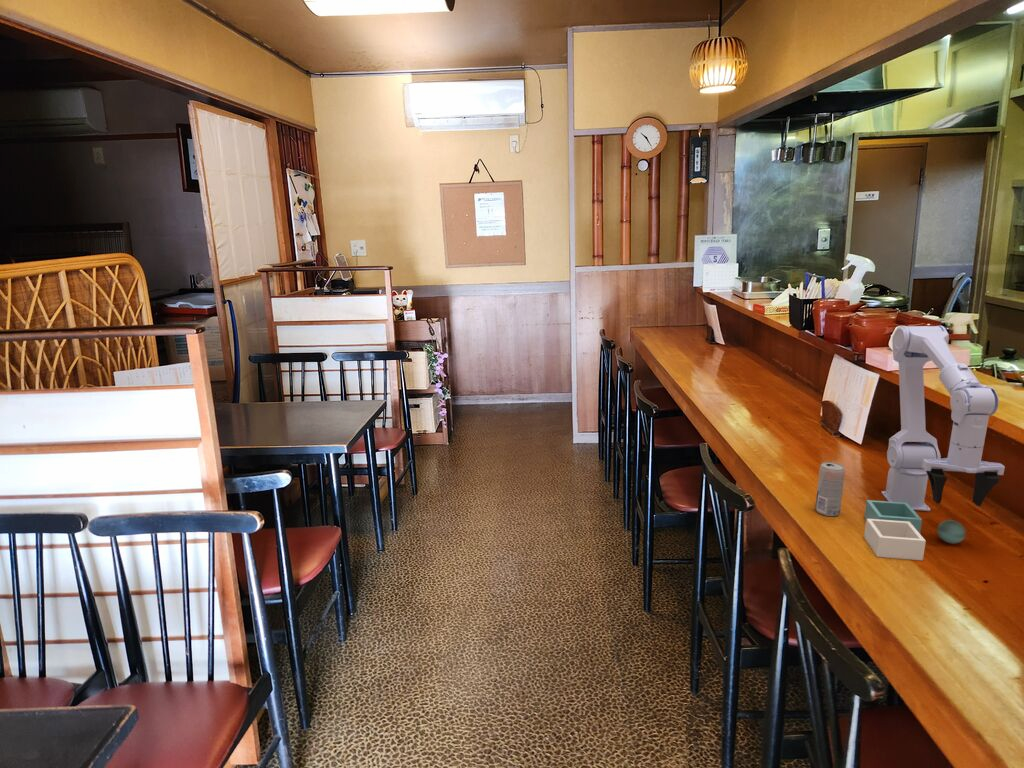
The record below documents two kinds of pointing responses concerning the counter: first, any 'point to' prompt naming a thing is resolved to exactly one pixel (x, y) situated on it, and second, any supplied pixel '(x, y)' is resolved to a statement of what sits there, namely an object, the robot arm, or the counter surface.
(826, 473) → the energy drink
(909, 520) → the teal open square box
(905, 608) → the counter surface
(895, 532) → the shallow white tray
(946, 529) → the teal ball
